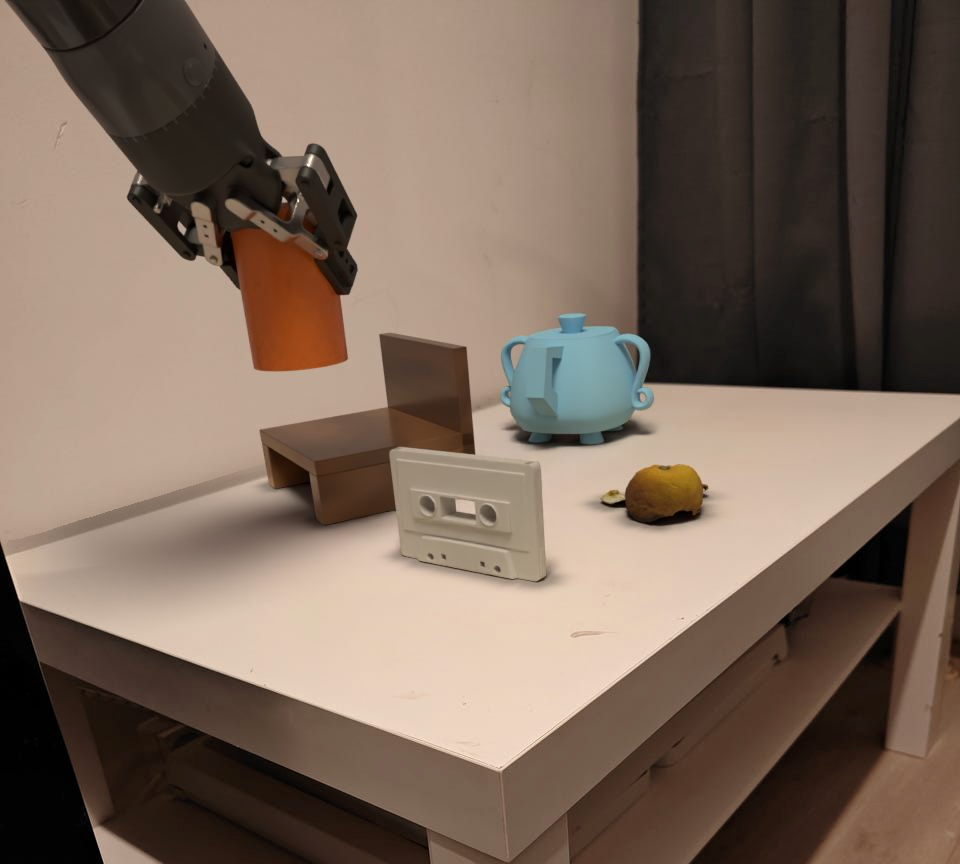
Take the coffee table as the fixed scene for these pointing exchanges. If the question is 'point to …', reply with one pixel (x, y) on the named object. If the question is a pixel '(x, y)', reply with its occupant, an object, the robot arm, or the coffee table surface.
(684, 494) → the fruit
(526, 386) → the teapot
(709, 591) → the coffee table surface
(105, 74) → the robot arm
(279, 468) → the shelf
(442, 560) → the cassette
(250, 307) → the can
